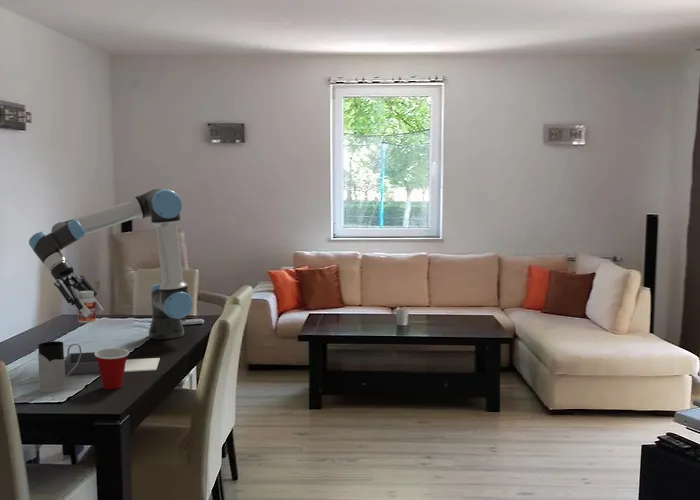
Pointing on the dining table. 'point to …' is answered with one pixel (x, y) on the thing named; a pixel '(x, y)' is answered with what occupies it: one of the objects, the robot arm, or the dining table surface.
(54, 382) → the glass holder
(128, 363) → the mailer box
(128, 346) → the dining table surface
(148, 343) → the dining table surface
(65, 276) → the robot arm
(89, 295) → the pill bottle
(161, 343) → the dining table surface
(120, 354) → the plastic cup
